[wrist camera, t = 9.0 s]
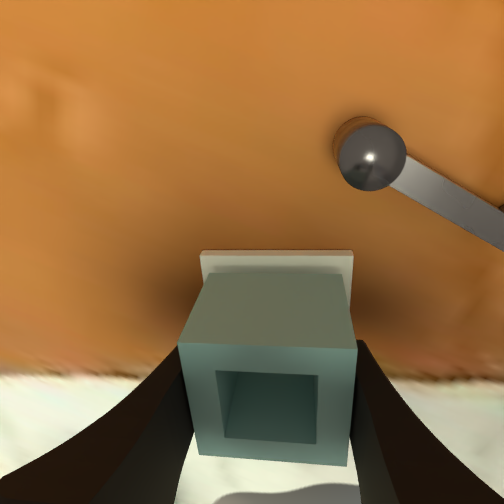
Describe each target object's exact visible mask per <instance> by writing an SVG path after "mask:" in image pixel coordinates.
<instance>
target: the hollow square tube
mask: <svg viewBox="0 0 504 504" xmlns="http://www.w3.org/2000/svg"><path fill="white" fill-rule="evenodd" d="M177 345H178V350H179V355H180V360H181V365H182V370H183V376H184V381H185V386H186V391H187V396H188V401H189V406H190V411H191V416H192V421H193V427H194V432H195V437H196V442H197V447H198V452H199V455H207V456H220V457H232V458H245V459H257V460H270V461H282V462H295V463H307V464H320V465H332V466H345V467H347V457H348V446H349V436H350V425H351V415H352V404H353V394H354V383H355V373H356V362H357V351H358V348H357V343H356V339H355V334H354V329H353V324H352V320H351V315H350V310H349V306H348V301H347V296H346V291H345V287H344V282H343V277H342V274H296V273H209V274H208V276H207V278H206V280H205V283H204V285H203V287H202V289H201V291H200V294H199V296H198V298H197V300H196V302H195V304H194V307H193V309H192V311H191V313H190V315H189V318H188V320H187V322H186V324H185V326H184V328H183V331H182V333H181V335H180V337H179V339H178V342H177Z"/></svg>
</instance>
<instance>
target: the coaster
mask: <svg viewBox="0 0 504 504" xmlns="http://www.w3.org/2000/svg"><path fill="white" fill-rule="evenodd" d="M353 258H354V255H353V252H352V250H202V252H201V254H200V262H201V269H202V276H203V283H205V280H206V278H207V276H208V274H209V273H296V274H342V277H343V282H344V287H345V291H346V296H347V301H348V306H349V310H350V298H351V284H352V271H353Z"/></svg>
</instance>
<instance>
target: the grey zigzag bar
mask: <svg viewBox="0 0 504 504" xmlns="http://www.w3.org/2000/svg"><path fill="white" fill-rule="evenodd" d="M333 153H334V156H335V159H336V161H337V163H338V166H339V168H340V171H341V173H342V175H343V177H344V179H345V180H346V181H347V182H348V183H349V184H350V185H351V186H353V187H354V188H356V189H359V190H363V191H375V190H379V189H382V188H385V187H387V186H388V185H389V186H391V187H392V188H394V189H396V190H398V191H399V192H401V193H403V194H404V195H406V196H408V197H410V198H411V199H413V200H415V201H417V202H418V203H420V204H422V205H424V206H425V207H427V208H429V209H431V210H432V211H434V212H436V213H437V214H439V215H441V216H443V217H444V218H446V219H448V220H450V221H451V222H453V223H455V224H457V225H458V226H460V227H462V228H463V229H465V230H467V231H469V232H470V233H472V234H474V235H476V236H477V237H479V238H481V239H483V240H484V241H486V242H488V243H490V244H491V245H493V246H495V247H496V248H498V249H500V250H502V251H503V252H504V205H503V206H502V207H500V208H498V207H496V206H494V205H493V204H491V203H489V202H487V201H486V200H484V199H482V198H481V197H479V196H477V195H476V194H474V193H472V192H471V191H469V190H467V189H466V188H464V187H462V186H460V185H459V184H457V183H455V182H454V181H452V180H450V179H449V178H447V177H445V176H444V175H442V174H440V173H439V172H437V171H435V170H433V169H432V168H430V167H428V166H427V165H425V164H423V163H422V162H420V161H418V160H417V159H415V158H413V157H412V156H410V155H408V154H407V153H406V147H405V144H404V141H403V140H402V138H401V137H400V136H399V135H398V134H397V133H396V132H395V131H393V130H392V129H390V128H388V127H387V126H385V125H384V124H382V123H380V122H379V121H377V120H375V119H373V118H370V117H356V118H353V119H350V120H349V121H347V122H345V123H344V124H343V125H342V126H341V127H340V128H339V129H338V131H337V133H336V135H335V137H334V140H333Z"/></svg>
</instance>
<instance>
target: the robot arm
mask: <svg viewBox="0 0 504 504" xmlns="http://www.w3.org/2000/svg"><path fill="white" fill-rule="evenodd" d="M356 343H357V348H358V351H357V362H356V373H355V383H354V394H353V404H352V415H351V425H350V441H351V446H352V451H353V456H354V460H355V465H356V470H357V475H358V481H359V487H360V494H361V503H362V504H504V498H503V497H501V496H500V495H499V494H498V493H496V492H495V491H494V490H493V489H492V488H490V487H489V486H488V485H487V484H486V483H484V482H483V481H482V480H481V479H480V478H478V477H477V476H476V475H475V474H474V473H473V472H472V471H471V470H470V469H469V468H468V467H466V466H465V465H464V464H463V463H462V462H461V461H460V460H459V459H458V458H457V457H456V456H454V455H453V454H452V453H451V452H450V451H449V450H448V449H447V448H446V447H445V446H444V445H443V444H442V443H441V442H440V441H439V440H438V439H437V438H436V437H435V436H434V435H433V433H432V432H431V431H430V430H429V429H428V428H427V427H426V426H425V425H424V424H423V423H422V421H421V420H420V419H419V418H418V417H417V416H416V415H415V413H414V412H413V411H412V410H411V409H410V407H409V406H408V405H407V404H406V402H405V401H404V400H403V399H402V397H401V396H400V395H399V393H398V392H397V391H396V389H395V388H394V387H393V385H392V384H391V383H390V381H389V380H388V378H387V377H386V376H385V374H384V373H383V371H382V370H381V368H380V367H379V365H378V364H377V362H376V360H375V359H374V357H373V356H372V354H371V352H370V350H369V349H368V347H367V345H366V343H365V342H364V341H363V340H356ZM193 434H194V427H193V421H192V416H191V411H190V406H189V401H188V396H187V391H186V386H185V381H184V376H183V370H182V365H181V360H180V355H179V350H178V345H177V346H176V347H175V348H174V349H173V351H172V352H171V353H170V354H169V355H168V356H167V357H166V358H165V359H164V360H163V361H162V362H161V363H160V365H159V366H158V367H157V368H156V369H155V370H154V371H153V372H152V373H151V374H150V375H149V376H148V377H147V378H146V379H145V380H144V381H143V382H142V383H141V384H139V385H138V386H137V387H136V388H135V389H134V390H133V391H132V392H131V393H130V394H129V395H128V396H127V397H125V398H124V399H123V400H122V401H121V402H120V403H118V404H117V405H116V406H115V407H113V408H112V409H111V410H110V411H109V412H107V413H106V414H105V415H103V416H102V417H101V418H99V419H98V420H96V421H95V422H94V423H92V424H91V425H89V426H88V427H86V428H85V429H84V430H82V431H81V432H79V433H78V434H76V435H75V436H73V437H72V438H70V439H69V440H67V441H66V442H64V443H63V444H61V445H59V446H58V447H56V448H54V449H53V450H51V451H49V452H48V453H46V454H44V455H42V456H41V457H39V458H37V459H35V460H33V461H32V462H30V463H28V464H26V465H24V466H22V467H20V468H19V469H17V470H15V471H13V472H11V473H9V474H7V475H5V476H3V477H2V478H1V479H0V504H174V500H175V495H176V491H177V487H178V483H179V478H180V474H181V471H182V467H183V464H184V461H185V458H186V455H187V452H188V449H189V446H190V443H191V440H192V437H193Z"/></svg>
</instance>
